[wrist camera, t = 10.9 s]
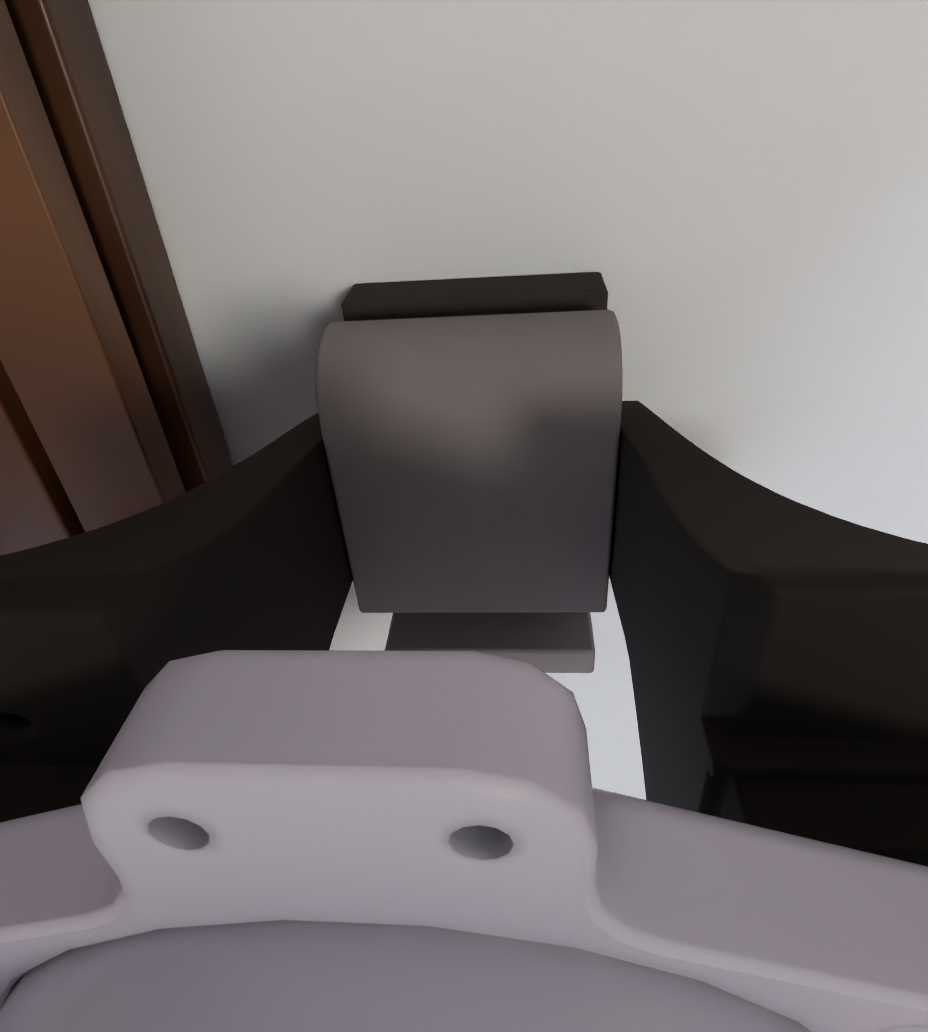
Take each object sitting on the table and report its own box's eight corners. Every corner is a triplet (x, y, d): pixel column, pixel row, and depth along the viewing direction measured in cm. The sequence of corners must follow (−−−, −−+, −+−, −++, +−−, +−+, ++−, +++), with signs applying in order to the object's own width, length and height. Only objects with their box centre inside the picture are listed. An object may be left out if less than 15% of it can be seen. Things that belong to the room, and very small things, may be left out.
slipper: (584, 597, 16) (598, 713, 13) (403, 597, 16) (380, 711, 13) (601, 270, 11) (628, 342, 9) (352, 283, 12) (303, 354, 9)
